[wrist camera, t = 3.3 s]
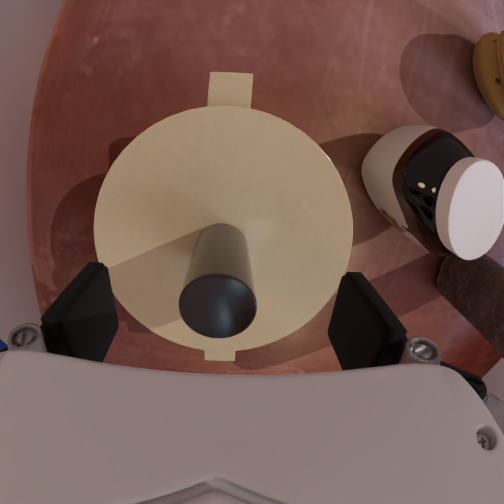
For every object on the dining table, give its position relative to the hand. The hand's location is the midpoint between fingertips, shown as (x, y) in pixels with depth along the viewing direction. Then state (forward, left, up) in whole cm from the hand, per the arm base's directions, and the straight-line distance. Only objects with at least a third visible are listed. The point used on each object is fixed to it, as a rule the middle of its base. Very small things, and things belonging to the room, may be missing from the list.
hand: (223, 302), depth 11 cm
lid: (0, 0, -6) cm, 6 cm away
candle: (+28, -5, -15) cm, 32 cm away
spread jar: (+18, +5, -15) cm, 24 cm away
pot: (+30, +20, -15) cm, 39 cm away
